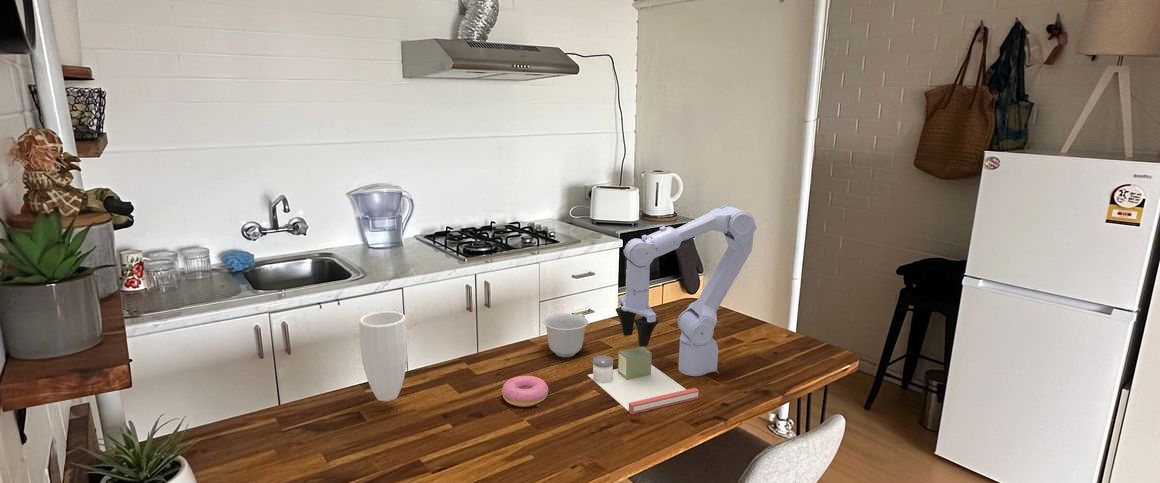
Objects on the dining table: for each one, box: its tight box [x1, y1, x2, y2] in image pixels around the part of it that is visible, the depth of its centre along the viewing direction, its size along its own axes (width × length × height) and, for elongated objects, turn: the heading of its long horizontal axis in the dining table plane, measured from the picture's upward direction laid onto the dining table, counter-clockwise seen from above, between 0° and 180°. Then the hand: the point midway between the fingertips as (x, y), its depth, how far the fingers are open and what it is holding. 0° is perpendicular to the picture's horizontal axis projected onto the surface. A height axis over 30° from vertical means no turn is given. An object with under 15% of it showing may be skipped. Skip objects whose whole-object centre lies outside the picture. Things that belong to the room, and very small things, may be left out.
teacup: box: [543, 313, 589, 358], centre depth 175 cm, size 12×15×10 cm
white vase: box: [358, 310, 408, 402], centre depth 143 cm, size 10×10×22 cm
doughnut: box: [501, 374, 549, 408], centre depth 151 cm, size 11×11×4 cm
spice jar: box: [592, 354, 614, 383], centre depth 159 cm, size 5×5×5 cm
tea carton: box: [617, 346, 653, 380], centre depth 162 cm, size 7×4×6 cm, turn 116°
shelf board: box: [587, 364, 700, 415], centre depth 156 cm, size 18×22×3 cm
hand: (635, 340), depth 160 cm, fingers open, 7 cm apart
